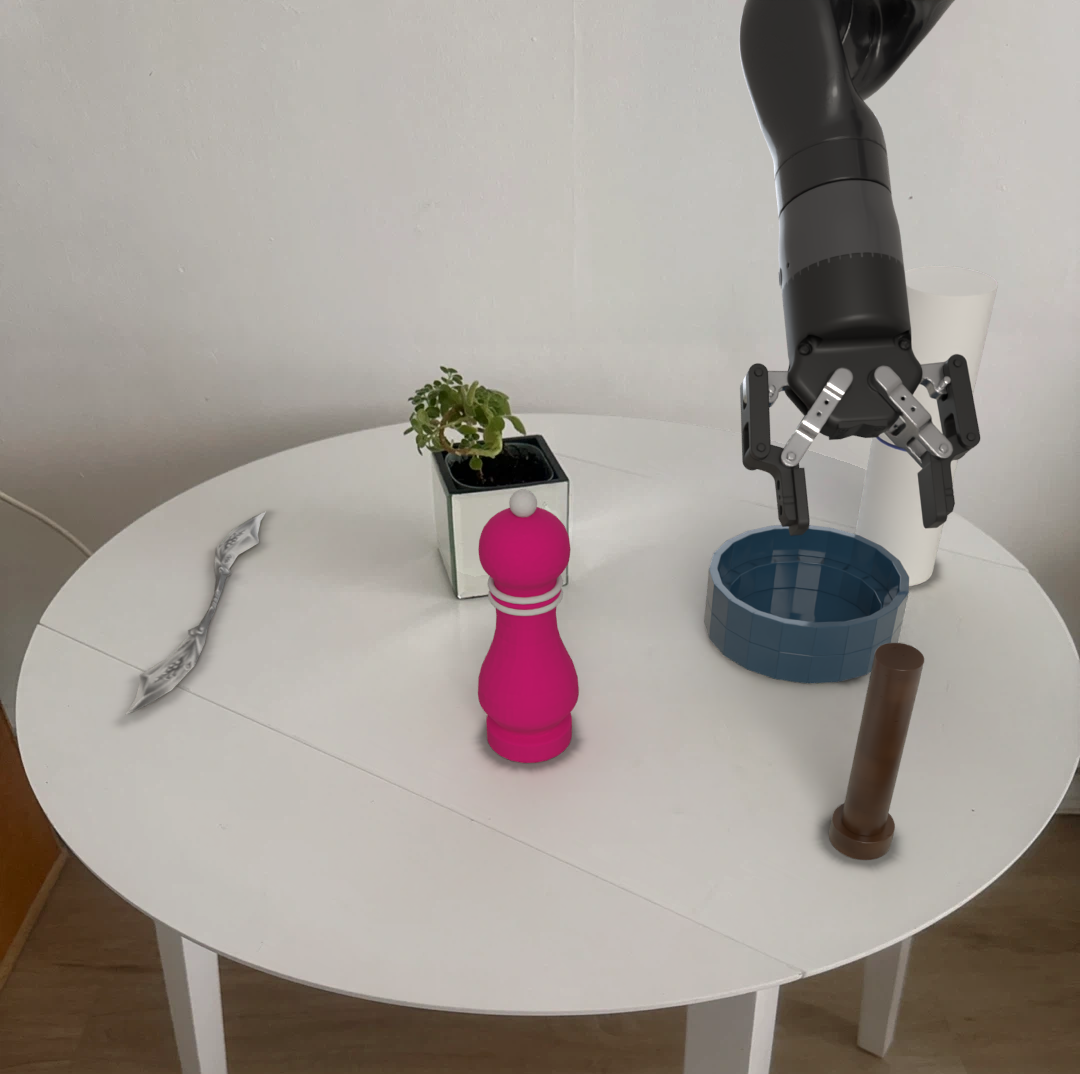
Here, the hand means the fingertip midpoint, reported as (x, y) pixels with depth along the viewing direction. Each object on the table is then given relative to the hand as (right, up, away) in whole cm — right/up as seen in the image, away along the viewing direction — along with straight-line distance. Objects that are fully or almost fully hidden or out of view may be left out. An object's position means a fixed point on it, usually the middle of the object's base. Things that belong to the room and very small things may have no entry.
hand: (868, 528), depth 71 cm
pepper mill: (-21, -13, +14) cm, 29 cm away
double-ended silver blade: (-49, -2, +29) cm, 57 cm away
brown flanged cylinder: (+1, -20, +5) cm, 20 cm away
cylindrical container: (+11, +2, +32) cm, 34 cm away
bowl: (+1, -5, +24) cm, 24 cm away
